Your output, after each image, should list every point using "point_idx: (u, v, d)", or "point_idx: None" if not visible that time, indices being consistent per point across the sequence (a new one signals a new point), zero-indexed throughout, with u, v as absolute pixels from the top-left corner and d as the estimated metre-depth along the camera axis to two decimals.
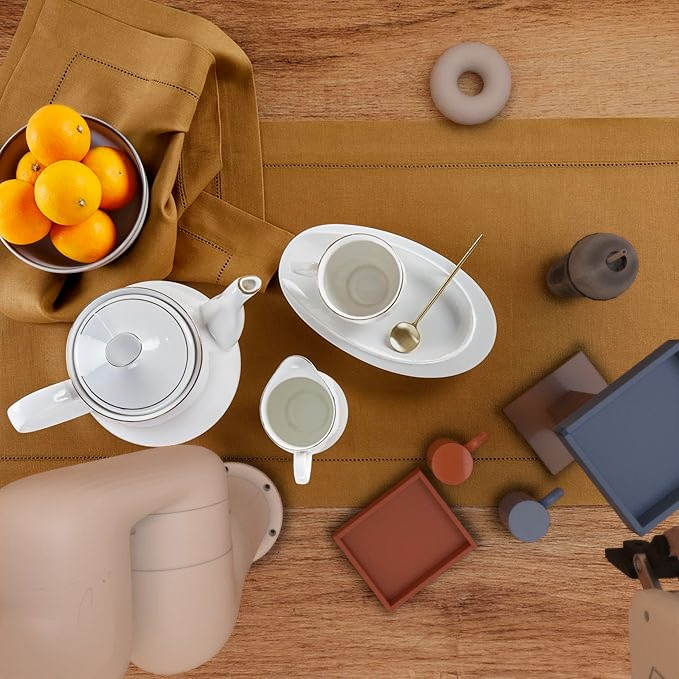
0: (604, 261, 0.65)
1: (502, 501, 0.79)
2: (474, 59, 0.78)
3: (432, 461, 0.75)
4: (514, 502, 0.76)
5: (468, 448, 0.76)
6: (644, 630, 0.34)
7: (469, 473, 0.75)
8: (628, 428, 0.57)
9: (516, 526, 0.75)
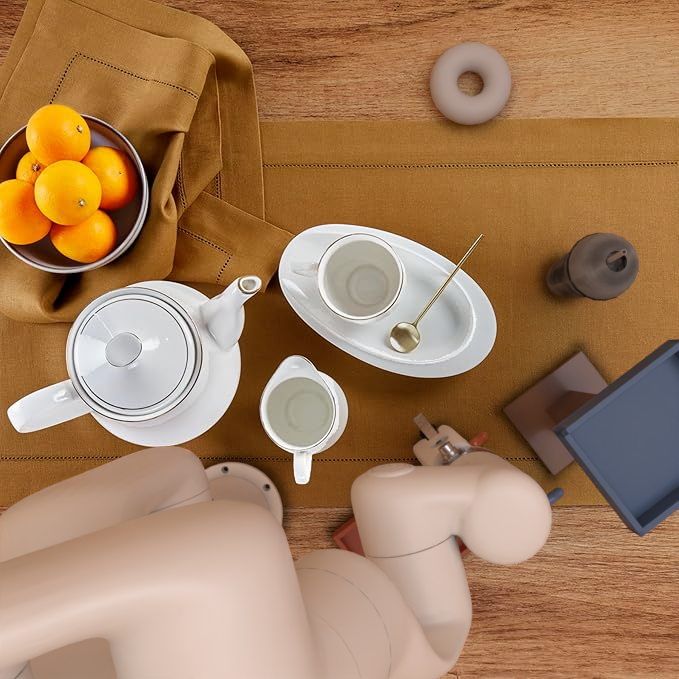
0: (604, 261, 0.65)
1: None
2: (474, 59, 0.78)
3: None
4: None
5: None
6: None
7: None
8: (628, 428, 0.57)
9: None
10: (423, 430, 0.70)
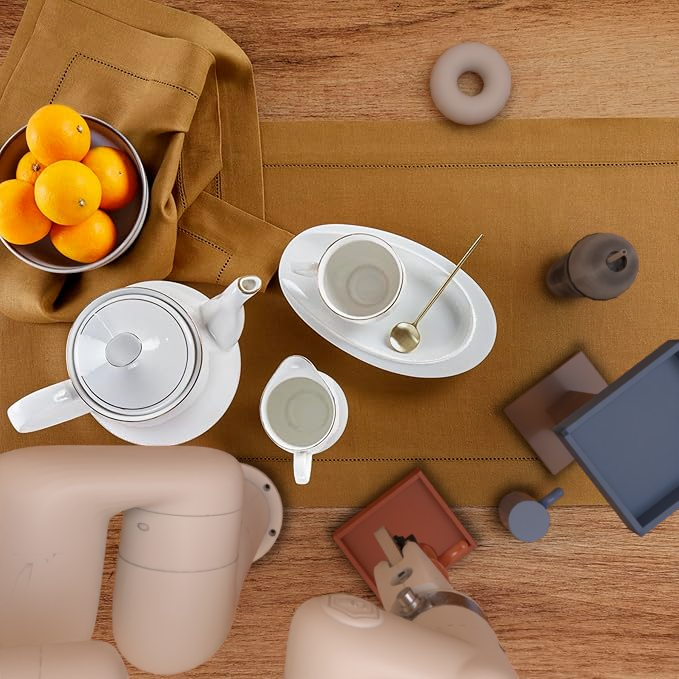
0: (604, 261, 0.65)
1: (502, 501, 0.79)
2: (474, 59, 0.78)
3: None
4: (514, 502, 0.76)
5: (443, 561, 0.63)
6: None
7: None
8: (628, 428, 0.57)
9: (516, 526, 0.75)
10: (385, 550, 0.57)
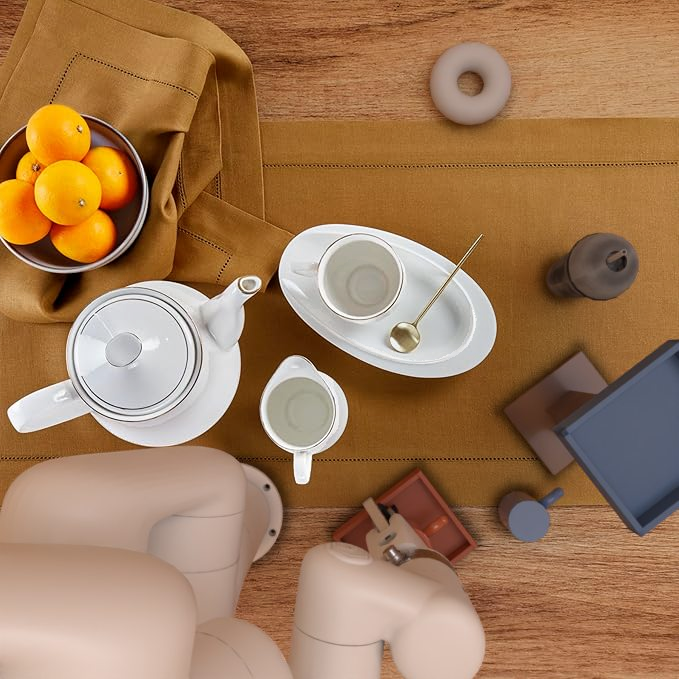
0: (604, 261, 0.65)
1: (502, 501, 0.79)
2: (474, 59, 0.78)
3: None
4: (514, 502, 0.76)
5: (427, 532, 0.75)
6: None
7: None
8: (628, 428, 0.57)
9: (516, 526, 0.75)
10: (373, 519, 0.70)
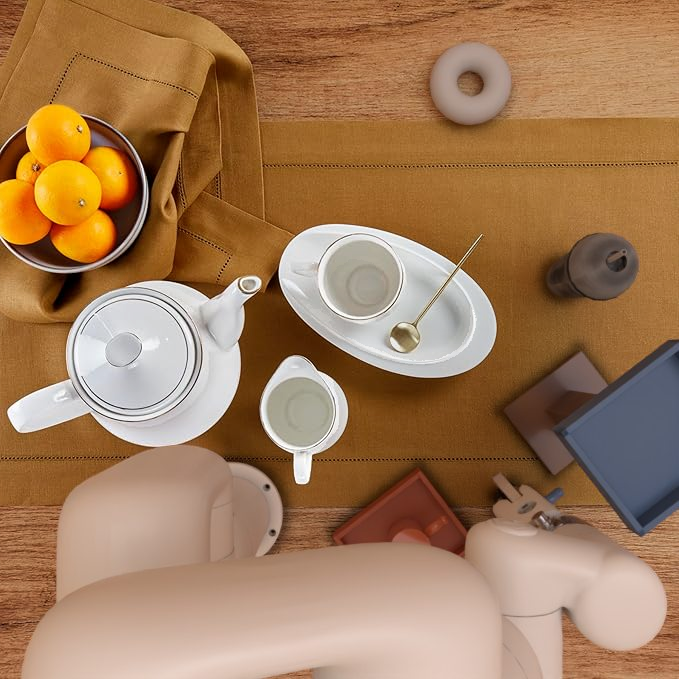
0: (604, 261, 0.65)
1: None
2: (474, 59, 0.78)
3: None
4: None
5: (427, 532, 0.75)
6: None
7: None
8: (628, 428, 0.57)
9: None
10: (504, 491, 0.70)
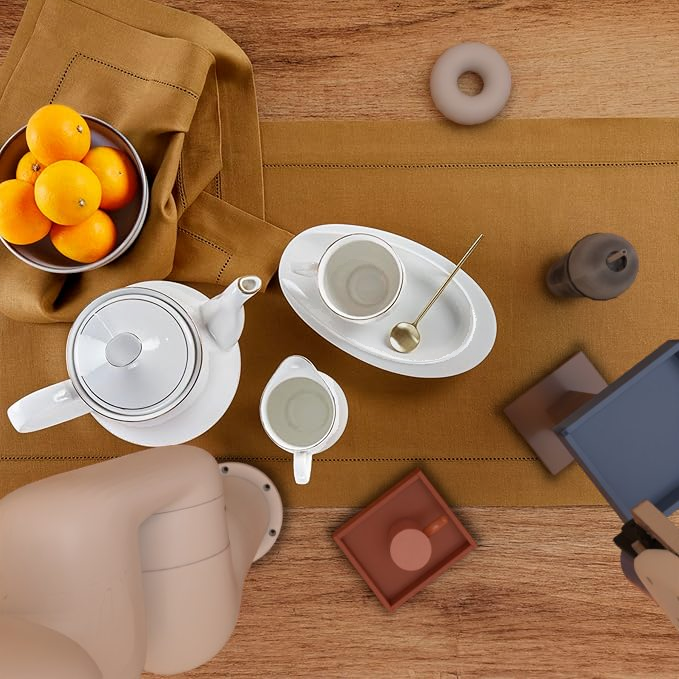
0: (604, 261, 0.65)
1: None
2: (474, 59, 0.78)
3: (390, 547, 0.74)
4: None
5: (427, 532, 0.75)
6: (655, 591, 0.39)
7: (427, 559, 0.74)
8: (628, 428, 0.57)
9: None
10: (661, 534, 0.39)
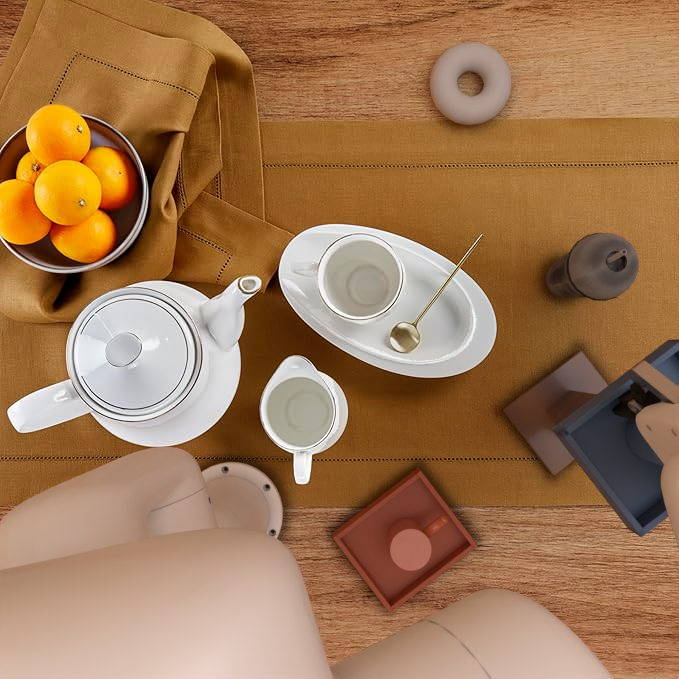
0: (604, 261, 0.65)
1: (633, 420, 0.57)
2: (474, 59, 0.78)
3: (390, 547, 0.74)
4: None
5: (427, 532, 0.75)
6: (654, 437, 0.48)
7: (427, 559, 0.74)
8: None
9: None
10: (658, 387, 0.48)
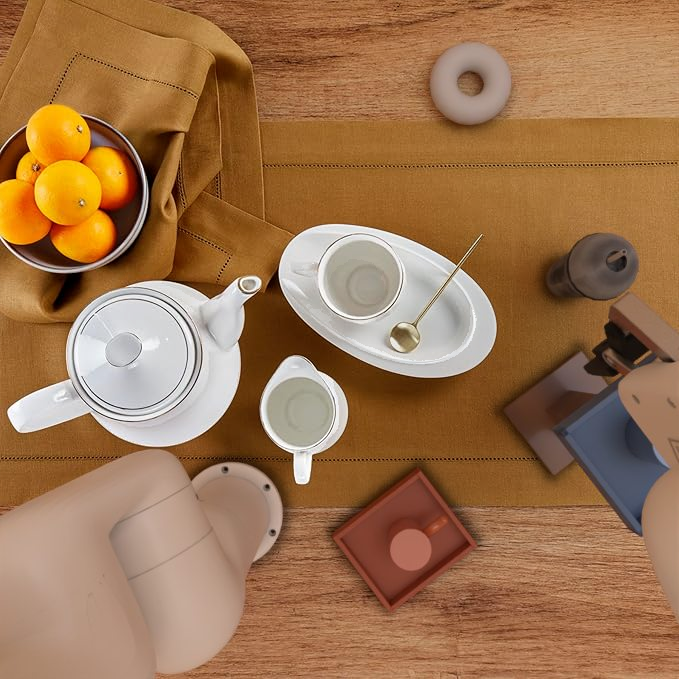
0: (604, 261, 0.65)
1: (633, 420, 0.57)
2: (474, 59, 0.78)
3: (390, 547, 0.74)
4: None
5: (427, 532, 0.75)
6: (643, 412, 0.34)
7: (427, 559, 0.74)
8: None
9: None
10: (651, 335, 0.32)
